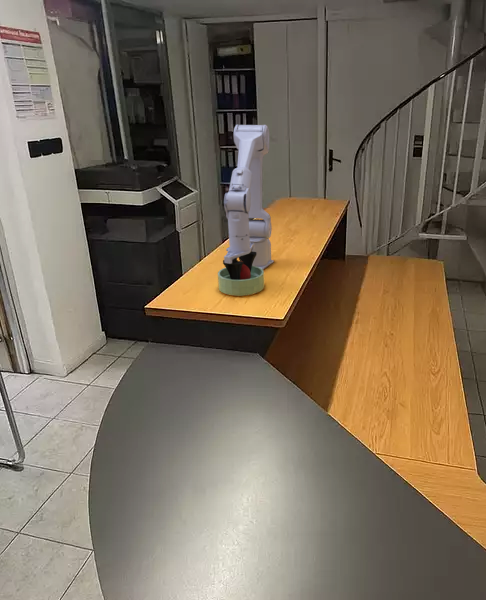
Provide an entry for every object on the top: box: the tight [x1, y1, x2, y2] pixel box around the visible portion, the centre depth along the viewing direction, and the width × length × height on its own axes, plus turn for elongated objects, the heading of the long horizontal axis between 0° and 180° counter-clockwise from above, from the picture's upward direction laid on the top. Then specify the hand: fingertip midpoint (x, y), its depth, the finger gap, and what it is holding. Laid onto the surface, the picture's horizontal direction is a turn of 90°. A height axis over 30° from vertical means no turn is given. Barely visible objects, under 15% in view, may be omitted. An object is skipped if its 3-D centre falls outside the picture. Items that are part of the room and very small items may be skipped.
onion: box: [239, 260, 251, 280], centre depth 140 cm, size 6×6×8 cm
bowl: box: [217, 266, 265, 297], centre depth 141 cm, size 13×13×5 cm
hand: (241, 279), depth 141 cm, fingers closed on onion, 6 cm apart
